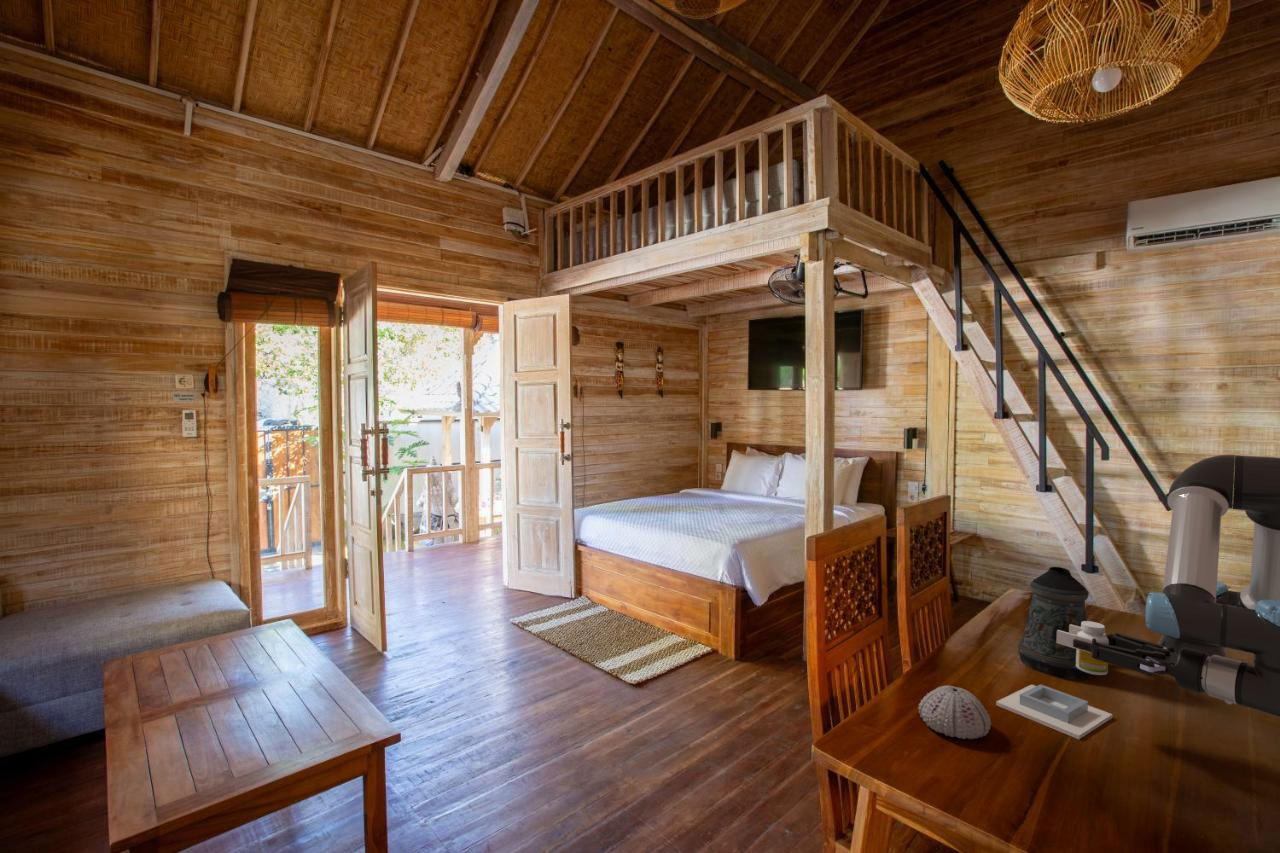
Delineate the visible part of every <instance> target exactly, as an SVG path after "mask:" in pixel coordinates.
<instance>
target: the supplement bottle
mask: <svg viewBox="0 0 1280 853" xmlns="http://www.w3.org/2000/svg"><path fill="white" fill-rule="evenodd" d="M1081 629H1082V631H1080V632H1078V633H1077V635H1079V636H1082V637H1086V638H1089V639H1093V638H1095V639H1096V642H1097V643H1102V644H1106V645H1109V640H1108V638H1107V637H1106V636H1104V635H1103V634H1106V626H1105V625H1104V624H1102V623H1098V622H1095V621H1088V620H1087V621H1083V622H1081ZM1076 667H1077V668H1078V669H1080V670H1082V671H1084V672H1087V673H1090V674H1093V675H1096V676H1106V675H1107V674H1108V673H1109V663H1107V662H1104V661H1100V660H1097V659H1094V658H1092V653H1088V652H1085V651H1082V650H1078V649H1076Z"/></svg>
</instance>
